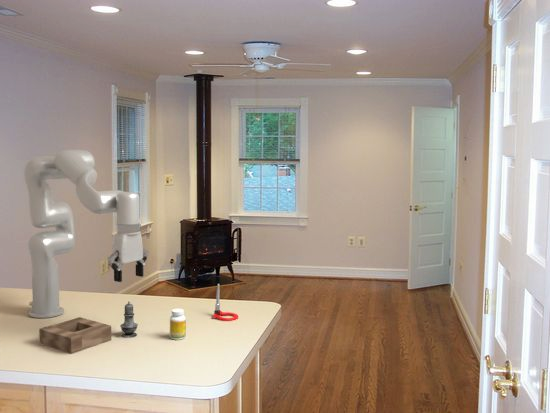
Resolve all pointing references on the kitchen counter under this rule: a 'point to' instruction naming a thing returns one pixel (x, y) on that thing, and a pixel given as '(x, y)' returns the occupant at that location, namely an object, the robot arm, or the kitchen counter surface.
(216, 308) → the tow hook
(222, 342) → the kitchen counter surface
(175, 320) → the supplement bottle
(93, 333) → the well block
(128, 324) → the dark stone chess piece
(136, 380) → the kitchen counter surface
